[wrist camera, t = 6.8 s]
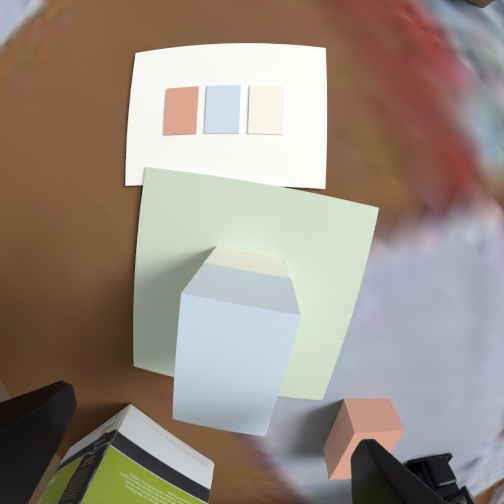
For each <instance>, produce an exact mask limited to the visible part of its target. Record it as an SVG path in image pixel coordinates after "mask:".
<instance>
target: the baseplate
mask: <svg viewBox="0 0 504 504" xmlns="http://www.w3.org/2000/svg"><path fill="white" fill-rule="evenodd" d="M378 210H379V208H377V207H373V206H368V205H364V204H360V203H356V202H351V201H347V200H343V199H338V198H334V197H329V196H324V195H320V194H315V193H310V192H305V191H300V190H295V189H290V188H284V187H279V186H274V185H268V184H262V183H257V182H251V181H245V180H239V179H233V178H226V177H220V176H213V175H206V174H199V173H192V172H184V171H176V170H168V169H160V168H151V167H146V170H145V177H144V184H143V191H142V199H141V208H140V217H139V226H138V237H137V249H136V263H135V281H134V310H133V355H134V366H135V367H138V368H142V369H145V370H149V371H152V372H156V373H160V374H164V375H168V376H172V377H175V361H176V347H177V334H178V322H179V311H180V301H181V293H182V292H183V290H184V289H185V288H186V286H187V285H188V284H189V282H190V281H191V280H192V278H193V277H194V276H195V274H196V273H197V272H198V270H199V269H200V268H201V266H202V265H203V263H204V262H205V261H206V259H207V258H208V257H209V255H210V254H211V253H212V252H213V250H214V249H215V248H216V246H218V247H224V248H229V249H235V250H241V251H246V252H252V253H257V254H263V255H269V256H274V257H280V258H285V262H286V266H287V270H288V274H289V278H291V279H292V283H293V287H294V291H295V295H296V298H297V302H298V306H299V310H300V314H301V316H300V320H299V324H298V328H297V332H296V335H295V339H294V343H293V346H292V350H291V353H290V357H289V360H288V364H287V367H286V371H285V374H284V378H283V381H282V384H281V388H280V391H279V394H278V396H283V397H292V398H302V399H313V400H322V399H323V396H324V394H325V391H326V388H327V386H328V383H329V381H330V378H331V375H332V372H333V370H334V367H335V364H336V361H337V359H338V356H339V353H340V350H341V347H342V344H343V341H344V338H345V335H346V332H347V329H348V326H349V323H350V319H351V316H352V313H353V309H354V306H355V303H356V299H357V296H358V292H359V289H360V285H361V281H362V278H363V274H364V270H365V266H366V262H367V258H368V254H369V250H370V246H371V242H372V237H373V233H374V229H375V224H376V219H377V214H378Z"/></svg>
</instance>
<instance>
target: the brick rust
mask: <svg viewBox="0 0 504 504" xmlns="http://www.w3.org/2000/svg"><path fill="white" fill-rule="evenodd" d="M403 431H404V428H403V426H402V424H401V422H400V420H399V417H398V415H397V413H396V411H395V410H394V408H393V406H392V404H391V402H390V400H389V398H388V399H344V400H343V402H342V405H341V407H340V410H339V412H338V415H337V417H336V419H335V422H334V424H333V426H332V429H331V431H330V433H329V436H328V438H327V440H326V442H325V444H324V447H323V449H324V454H325V460H326V465H327V471H328V477H329V480H339V479H351V455H352V453H353V452H354V450H355V448H356V447H357V445H358V444H359V442H360V441H361V440H362V439H375V440H376V441H377V442H378V443H380V444H381V445H382V446H383V447H384V448H385V449H386V450H387V451H388V452H389V453H390V452H391V451H392V449H393V448H394V446H395V445H396V443H397V441H398V440H399V438H400V436H401V435H402V433H403Z"/></svg>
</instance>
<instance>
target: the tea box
mask: <svg viewBox="0 0 504 504" xmlns="http://www.w3.org/2000/svg"><path fill="white" fill-rule="evenodd" d="M213 468H214V463H213V462H212V461H211V460H210V459H208V458H206V457H205V456H203V455H202V454H200V453H199V452H197V451H196V450H194V449H193V448H191V447H190V446H188V445H187V444H185V443H184V442H182V441H181V440H179V439H178V438H176V437H175V436H174V435H172V434H171V433H169V432H168V431H167V430H165V429H164V428H162V427H161V426H160V425H159V424H157V423H156V422H154V421H153V420H152V419H151V418H149V417H148V416H147V415H145V414H144V413H143V412H141V411H140V410H139V409H137V408H136V407H135V406H133V405H132V404H129V405H128V406H127V407H125V408H124V409H123V410H121V411H120V412H119V413H118V414H116V415H115V416H113V417H112V418H111V419H109V420H108V421H107V422H105V423H104V424H103V425H101V426H100V427H98V428H97V429H96V430H94V431H93V432H91V433H90V434H89V435H87V436H86V437H84V438H83V439H82V440H80V441H79V442H77V443H76V444H74V445H73V446H72V447H70V449H69V450H68V452H67V454H66V455H65V457H64V458H63V460H62V462H61V463H60V465H59V467H58V469H57V470H56V472H55V473H54V475H53V477H52V478H51V480H50V482H49V484H48V486H47V488H46V489H45V491H44V493H43V494H42V496H41V497H40V499H39V501H38V503H37V504H208V501H209V493H210V488H211V483H212V477H213Z"/></svg>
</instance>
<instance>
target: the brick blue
mask: <svg viewBox="0 0 504 504" xmlns="http://www.w3.org/2000/svg"><path fill="white" fill-rule="evenodd" d="M300 316H301V314H300V310H299V306H298V302H297V298H296V295H295V291H294V287H293V283H292V279H291V278H286V277H280V276H274V275H269V274H263V273H258V272H252V271H247V270H241V269H236V268H230V267H225V266H220V265H214V264H209V263H204V264H203V265H202V266H201V268H200V269H199V270H198V272H197V273H196V274H195V276H194V277H193V278H192V280H191V281H190V282H189V284H188V285H187V286H186V288H185V289H184V290H183V292H182V293H181V301H180V311H179V322H178V334H177V347H176V361H175V377H174V397H173V419H175V420H179V421H183V422H187V423H192V424H196V425H201V426H206V427H210V428H216V429H221V430H227V431H232V432H239V433H245V434H252V435H260V436H265V435H266V432H267V429H268V426H269V423H270V420H271V417H272V413H273V410H274V407H275V404H276V401H277V398H278V394H279V391H280V388H281V384H282V381H283V378H284V374H285V371H286V367H287V364H288V360H289V357H290V353H291V350H292V346H293V343H294V339H295V335H296V332H297V328H298V324H299V320H300Z"/></svg>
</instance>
